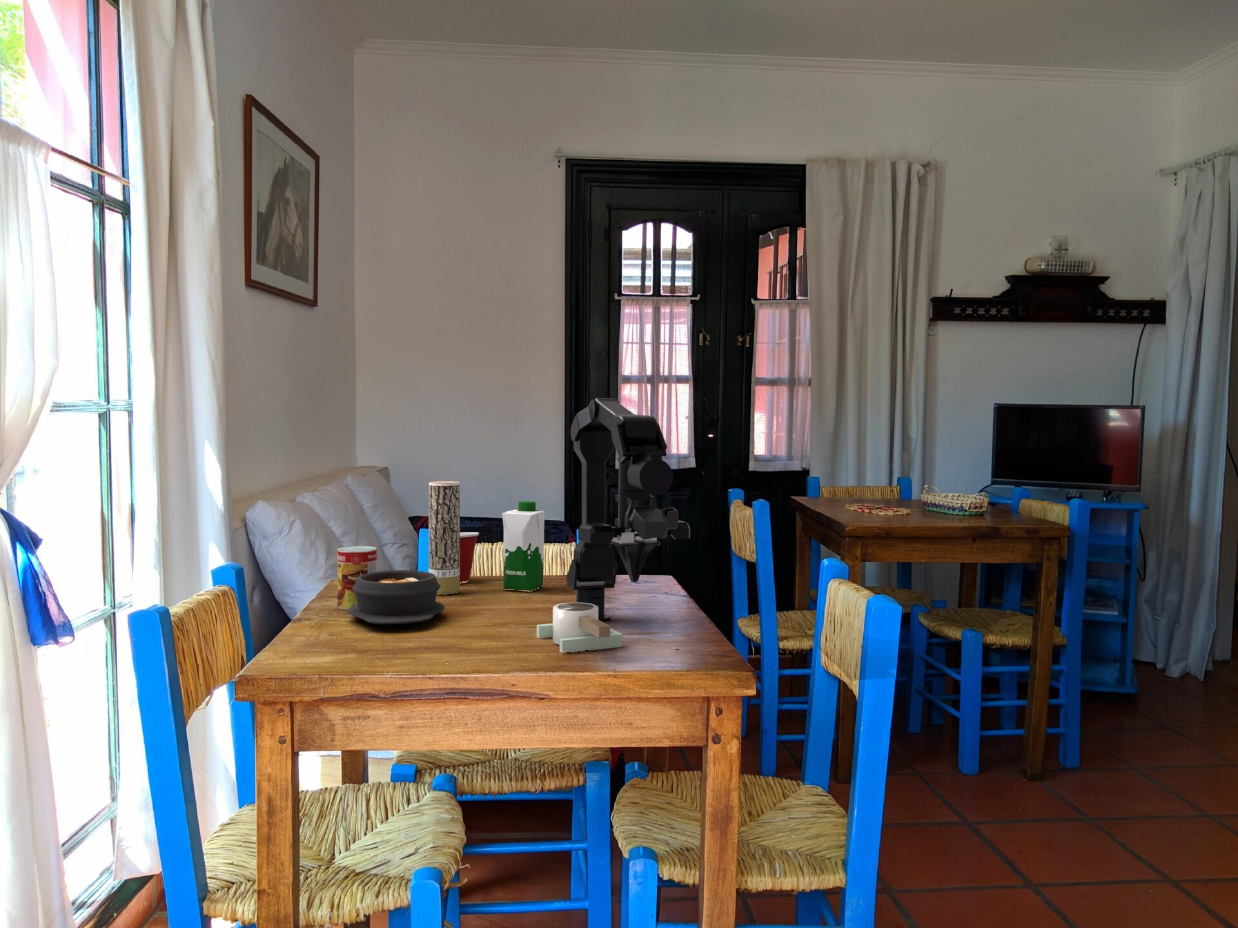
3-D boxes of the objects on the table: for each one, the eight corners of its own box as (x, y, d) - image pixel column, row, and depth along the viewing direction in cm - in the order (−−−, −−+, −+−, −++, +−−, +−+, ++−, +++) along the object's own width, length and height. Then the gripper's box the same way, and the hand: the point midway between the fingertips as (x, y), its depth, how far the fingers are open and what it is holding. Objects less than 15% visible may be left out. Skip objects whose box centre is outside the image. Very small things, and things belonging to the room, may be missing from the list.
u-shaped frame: (536, 636, 161) (536, 624, 161) (593, 630, 166) (593, 619, 166) (562, 653, 150) (562, 640, 150) (622, 646, 155) (622, 634, 155)
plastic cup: (458, 576, 222) (458, 528, 221) (488, 581, 215) (488, 532, 214) (423, 582, 213) (423, 532, 213) (453, 588, 206) (453, 536, 206)
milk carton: (547, 586, 210) (548, 501, 209) (533, 593, 201) (533, 505, 200) (513, 584, 212) (513, 500, 211) (497, 591, 203) (497, 503, 202)
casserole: (451, 630, 166) (451, 585, 166) (347, 636, 161) (346, 590, 160) (438, 603, 190) (438, 564, 190) (347, 607, 185) (347, 567, 184)
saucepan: (546, 639, 160) (546, 604, 160) (586, 635, 163) (587, 600, 163) (582, 661, 145) (582, 623, 145) (626, 656, 149) (626, 618, 148)
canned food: (342, 601, 190) (341, 546, 189) (379, 601, 191) (379, 545, 190) (333, 609, 182) (333, 551, 182) (373, 609, 183) (372, 551, 182)
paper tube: (422, 592, 201) (422, 482, 199) (448, 589, 205) (448, 480, 204) (439, 597, 196) (439, 483, 194) (465, 593, 200) (465, 482, 199)
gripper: (605, 495, 139) (604, 594, 140) (707, 492, 147) (706, 586, 148) (577, 490, 149) (576, 582, 150) (674, 487, 157) (673, 575, 158)
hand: (634, 581), depth 151 cm, fingers closed
